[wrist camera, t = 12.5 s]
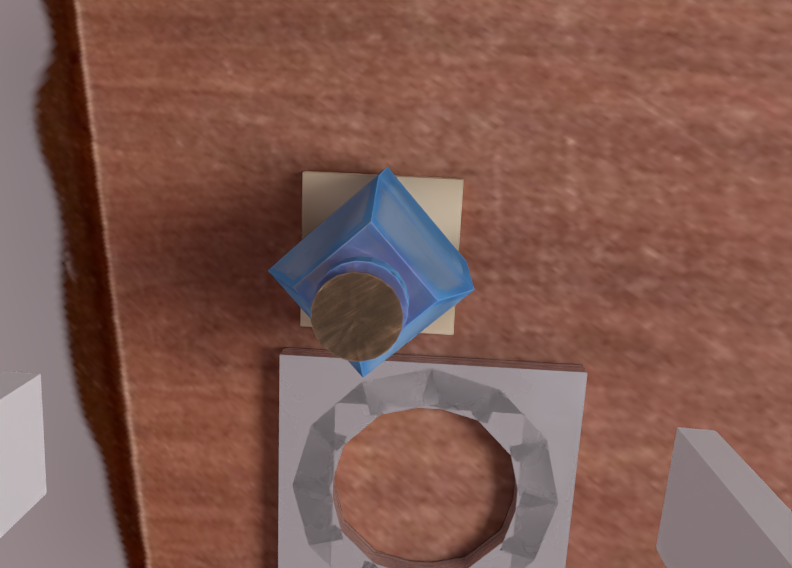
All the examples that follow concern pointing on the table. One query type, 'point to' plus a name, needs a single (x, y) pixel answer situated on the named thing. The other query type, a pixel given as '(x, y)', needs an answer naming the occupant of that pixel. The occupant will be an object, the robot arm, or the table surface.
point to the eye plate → (437, 389)
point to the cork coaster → (430, 193)
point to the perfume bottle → (374, 274)
